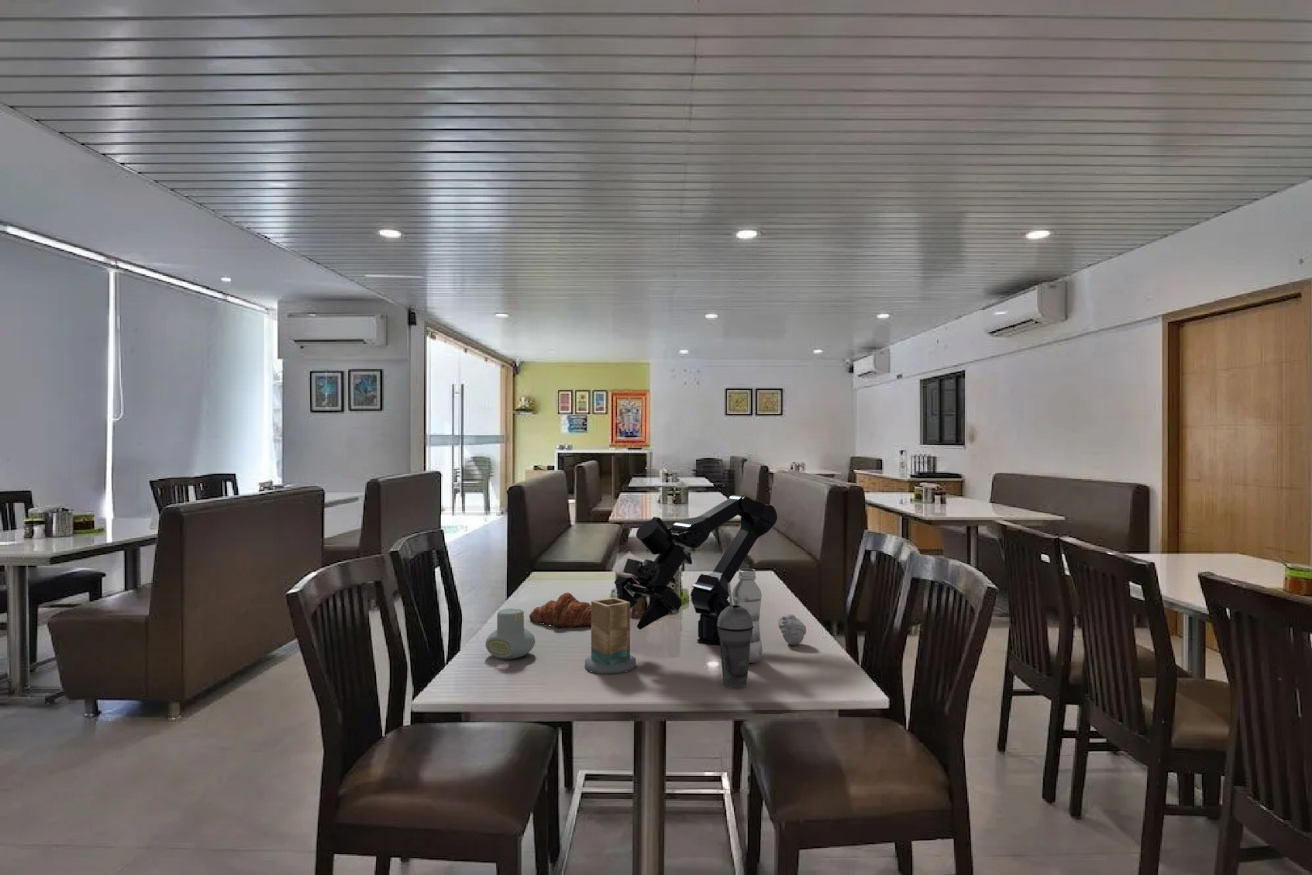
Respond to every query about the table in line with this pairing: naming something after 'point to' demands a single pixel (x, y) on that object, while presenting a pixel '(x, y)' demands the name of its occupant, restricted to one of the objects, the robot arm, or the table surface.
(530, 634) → the air freshener
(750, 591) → the plastic bottle
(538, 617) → the pastry
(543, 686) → the table surface
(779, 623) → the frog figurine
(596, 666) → the pin stand
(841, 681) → the table surface
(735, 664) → the beverage cup
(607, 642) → the banded sleeve
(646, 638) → the table surface
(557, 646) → the table surface
